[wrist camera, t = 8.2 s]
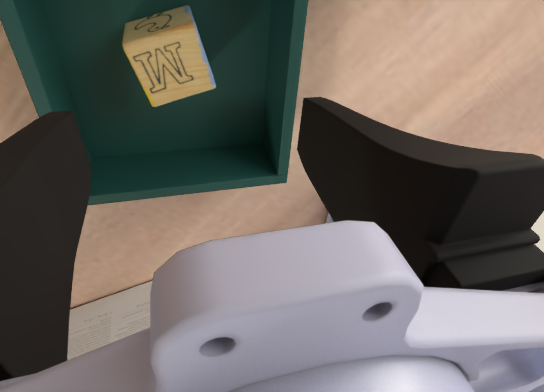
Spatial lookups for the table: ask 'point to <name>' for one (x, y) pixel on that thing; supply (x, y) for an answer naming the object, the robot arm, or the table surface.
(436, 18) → the table surface
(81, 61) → the tray
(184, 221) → the table surface
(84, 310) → the skincare box
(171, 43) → the alphabet block
